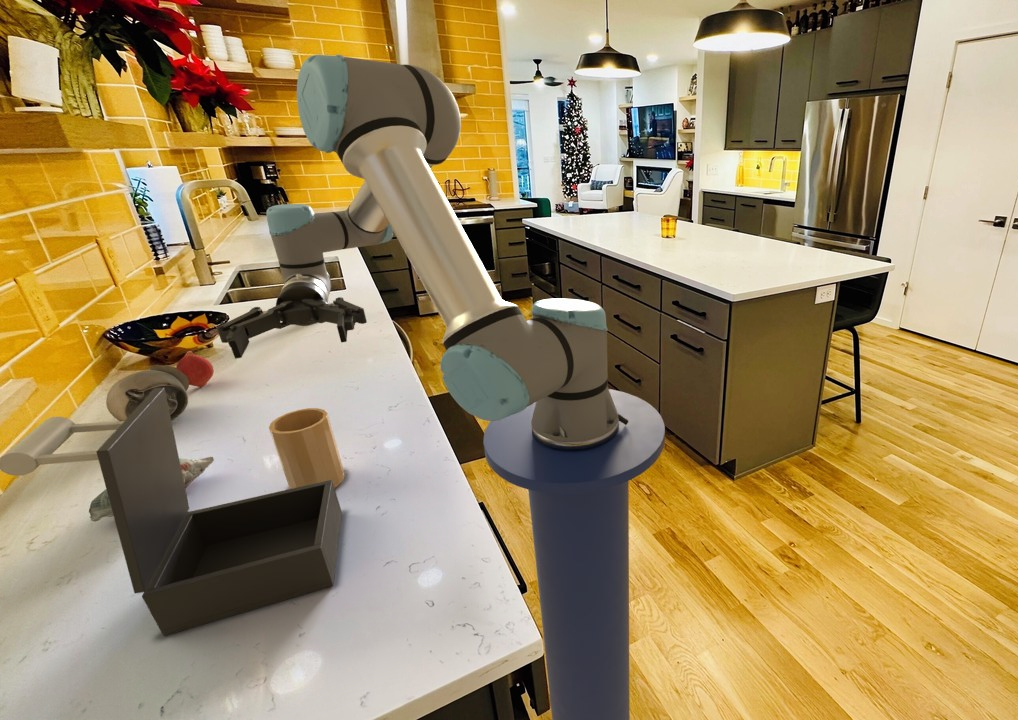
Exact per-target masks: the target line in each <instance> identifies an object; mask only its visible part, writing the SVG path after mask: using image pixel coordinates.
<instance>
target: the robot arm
mask: <svg viewBox="0 0 1018 720" xmlns="http://www.w3.org/2000/svg"><path fill="white" fill-rule="evenodd" d="M296 100H297V101H296V102H297V109H298V116H299V120H300V124H301V127H302V129H303V133H304V135H305V136H306V138H307V140H308V142H309V144H310V145H311V146H312V147H313V148H314V149H316V150H318V151H320V152H324V153H326V154H331V153H333V152H334V153H336V155H337V157H338V158H339V160H340V162H341V163H342V165H343V167H344V169H345V170H346V171H347V173H349V174H350V175H352V176H354V177H357V178H359V179H363V180H364V181H363V183H362V184H361V186H360V187H359V189H358V191H357V193H356V194H355V196H354V198H353V199H352V200H351V202H350V204H349V205H348V207H347V209H345V210H337V211H327V212H314V210H313V209H312V207H311V206H310V205H308V204H303V203H292V204H291V203H286V204H285V203H284V204H275V205H272V206H269V207H268V208H267V209H266V221H267V225H268V232H269V233H268V234H269V235H270V237H271V241H272V244H273V246H274V249H275V251H274V252H275V254H276V257H277V260H278V265H279V269H280V273H281V276H282V280H283V281H282V282H283V286H282V288H281V290H280V291H279V294H278V296H277V298H276V302H275V306H273V307H270V308H268V309H267V310H263V309H262V308H261V307H260V306H254V307H251V309H250V310H249V311H247V312H245V313H243V314H241V315H239V316H237V317H234V318H233V319H230V320H228V321H226V322H224V323H222V324H221V325H218V326H216V331H217V334H218V336H219V339H220V341H221V343H223V344H227V343H228V346H229V347H230V349H231V352H232V354H233V357H234V359H235V360H236V359H242V358H243V355H244V354H245V352H246V350H247V348H248V347H249V346H248V345H249V344H250V339H252V338H254V337H257V336H259V335H263V334H264V333H266V332H267V333H268V332H269V331H271V330H274V329H276V330H277V329H278V330H281V329H284V328H286V327H289V326H299V327H308V326H313V325H315V324H317V323H318V324H324V323H328V324H329V323H331V324H333V325H336V328H337V332H338V337H339V340H340V343H347V341H348V331H353V330H354V329H355V326H356V323H358V324H361V325H365V324H366V323H368V320H367V316H366V312H365V308H363V307H362V306H358V305H356V304H353V303H351V302H350V301H347V300H344V297H342V296H339V297H336V298H335V300H334V299H333V300H332V302H330V303H329V297H330V294H331V289H332V286H333V285H332V280H331V276H330V274H329V273H328V271H327V267H326V264H325V263H326V262H325V257H324V253H328V252H335V251H341V250H348V249H356V248H362V247H369V246H377V245H380V244H383V243H388V242H389V241H391V240H392V239H393V237H394V236H395V237H396V239H397V241H398V242H399V244H400V246H401V247H402V249H403V251H404V254H405V255H406V257H407V258H408V260H409V262H410V264H411V266H412V267H413V269H414V272H415V273H416V275H417V277H418V279H419V281H420V282H421V284H422V285H423V287H424V289H425V291H426V293H427V294H428V296H429V298H430V300H431V302H432V303H433V305H434V307H435V309H436V311H437V313H438V315H439V316H440V318H441V319H442V322H443V323H444V325H445V332H444V335H443V337H442V341H441V343H442V345H443V346H444V348H445V352H444V353H443V355H442V356H441V359H440V371H441V373H442V374H443V375H442V380H443V382H444V385H445V387H446V389H447V391H448V392H449V394H450V395H451V397H452V399H454V401H455V402H456V403H457V404H458V405H459V407H461V408H462V409H463V410H464V411H465V412H467V413H468V414H470V415H471V416H473V417H476V418H478V419H480V420H482V421H485V422H486V421H487V422H491V421H498V420H501V419H504V418H506V417H508V416H510V415H512V414H516V413H519V412H520V411H523V410H524V409H525V408H527V407H528V406H530V405H532V404H533V403H535V402H536V405H535V409H534V413H533V416H532V420H531V427H532V435H533V437H534V439H535V440H536V441H537V442H538V443H539V444H541V445H543V446H545V447H547V448H550V449H553V450H558V451H566V452H575V451H584V450H589V449H593V448H596V447H599V446H601V445H604V444H606V443H607V442H609V441H610V440H612V439H613V438H614V437H615V435H616V434H617V432H618V430H619V421H620V422H622V423H623V424H625V425H626V424H627V423H628V420H627V419H625V418H624V417H622V416H621V415H620V414H618V412H617V410H616V407H615V404H614V402H613V399H612V397H611V394H610V391H609V389H610V388H609V384H608V383H609V381H608V378H609V376H608V331H609V328H608V327H607V326H608V325H607V315H606V311H605V310H604V308H603V307H602V306H601V305H599V304H597V303H595V302H592V301H588V300H584V299H578V298H577V299H576V298H561V297H560V298H546V299H541V300H537V301H535V302H534V303H533V304H532V307H531V308H532V310H531V311H530V313H531V314H532V316H531V317H532V318H530V319H526V318H525V316H524V314H523V312H522V311H521V309H520V307H519V305H518V304H515V303H513V302H509V301H505V300H504V299H502V297H501V295H500V293H499V291H498V289H497V287H496V286H495V283H494V281H493V280H492V279H491V276H490V275H489V273H488V271H487V269H486V268H485V266H484V264H483V261H482V260H481V258H480V257H479V254H478V253H477V251H476V249H475V248H474V246H473V244H472V242H471V240H470V239H469V237H468V235H467V233H466V232H465V229H464V228H463V226H462V224H461V222H460V220H459V219H458V217H457V215H456V213H455V211H454V209H453V208H452V206H451V204H450V202H449V200H448V199H447V197H446V195H445V193H444V191H443V190H442V188H441V186H440V184H439V182H438V180H437V179H436V177H435V175H434V173H433V172H432V170H431V169H432V167H433V166H439V165H442V164H443V163H444V162H445V161H446V160H447V159H448V158H449V156H450V155H451V154H452V152H453V151H454V149H455V148H456V146H457V144H458V142H459V139H460V135H461V129H462V118H461V117H462V116H461V112H460V108H459V105H458V102H457V100H456V98H455V96H454V93H452V91H451V90H450V89H449V87H448V85H446V83H444V82H443V80H441V79H440V78H439V77H438V76H437V75H435V74H434V73H433V72H431V71H429V70H427V69H426V68H425V69H424V68H423V67H420V66H417V65H412V64H401V63H400V64H399V63H395V62H386V61H380V60H371V59H363V58H356V57H349V56H344V55H342V54H336V55H330V54H313V55H311V56H309V57H307V58H306V59H305V60H304V61H303V62H302V64H301V66H300V69H299V72H298V76H297V83H296Z"/></svg>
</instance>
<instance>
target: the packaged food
mask: <svg viewBox="0 0 1018 720" xmlns="http://www.w3.org/2000/svg"><path fill="white" fill-rule="evenodd" d="M179 461H180V466H181V471H182V475H183V480H184V485H185V490H186V489H187V488H188V486H189V485H191V483H193V482H194V481H195V480H196V479H197V478H199V477H200V476H201V475H203V473H204V472H205V471H206V469H207V468H209V466H210V465H212V464H213V463H214V461H215V459H214V457H213V456H208V457H204V458H198V459H196V458H194V459H193V458H179ZM88 513H89V515H90V516H89V518H90V521H91V522H95V523H96V522H99V521H100V520H101V519H102V518H106V517H108V518H111V517H114V515H113V512H112V508H111V504H110V501H109V497H108V493H107V489H106V488H105V489H104V490H103V491H102V492H101V493H99V494H98V495H97V496H96V497H95V498H94V499H92V501H90V505H89V507H88Z"/></svg>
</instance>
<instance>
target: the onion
mask: <svg viewBox="0 0 1018 720" xmlns="http://www.w3.org/2000/svg"><path fill="white" fill-rule="evenodd" d="M175 368H177V369H178V370H179V371H181V372H182V373H184V374H185V375H186V376H187V378H188V380H189V386H192V387H198V388H202V387H205V386H206V384H207V383H208V382H209V381H210V380H211V379H212V378H213V376H214V372H215V371H214V367H213V365H212V362H210V360H208V359H207V358H205V357H203V356H200V355H196V354H194V353H193V351H192V350H191V351H187V352H186V353H185V355H184V356H183V357H182V358H181V359H180V360H178V362H177V364H176V366H175Z"/></svg>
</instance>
